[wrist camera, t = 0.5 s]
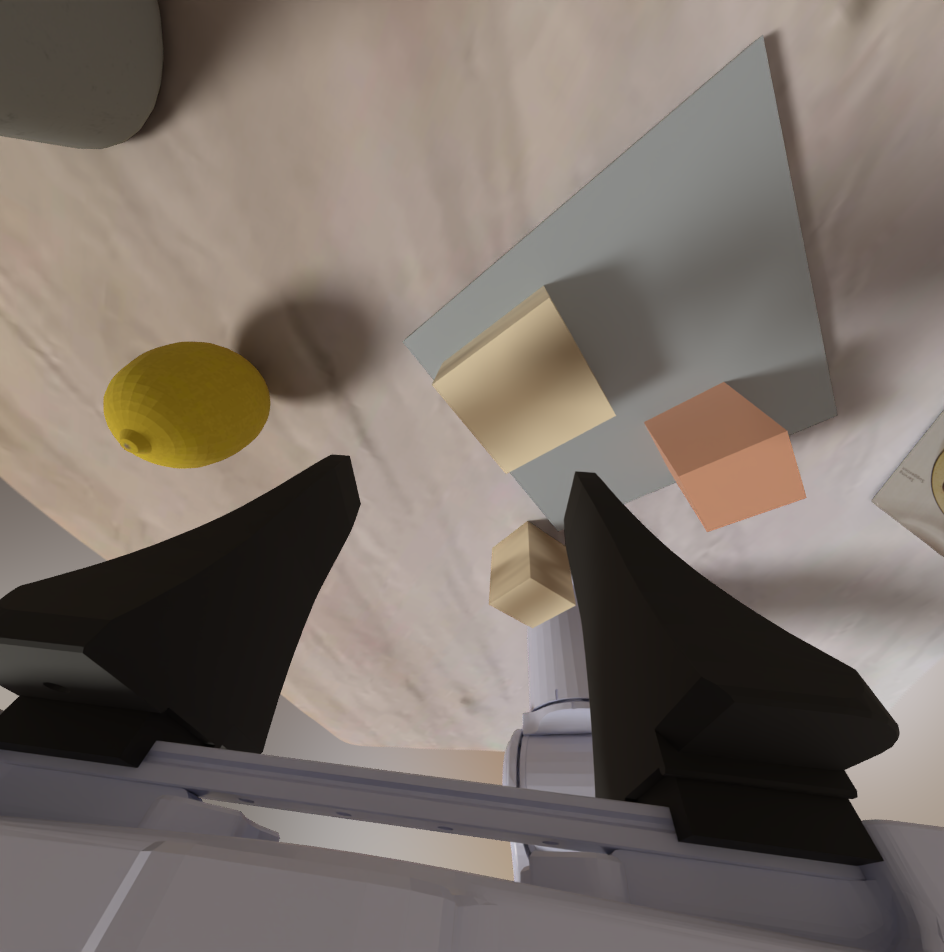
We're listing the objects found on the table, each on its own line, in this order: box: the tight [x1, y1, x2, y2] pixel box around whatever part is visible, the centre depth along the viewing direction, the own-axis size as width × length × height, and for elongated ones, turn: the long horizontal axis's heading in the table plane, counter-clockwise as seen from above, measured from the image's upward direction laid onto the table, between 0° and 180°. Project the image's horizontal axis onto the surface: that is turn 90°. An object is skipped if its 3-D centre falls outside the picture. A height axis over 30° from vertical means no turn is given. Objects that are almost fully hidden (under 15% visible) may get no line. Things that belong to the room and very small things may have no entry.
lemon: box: [104, 342, 270, 468], centre depth 17 cm, size 6×6×8 cm
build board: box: [403, 35, 837, 531], centre depth 18 cm, size 16×16×1 cm
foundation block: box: [432, 286, 616, 474], centre depth 17 cm, size 6×6×3 cm
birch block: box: [489, 521, 576, 628], centre depth 25 cm, size 4×4×5 cm
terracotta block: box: [644, 382, 806, 532], centre depth 17 cm, size 4×4×5 cm
